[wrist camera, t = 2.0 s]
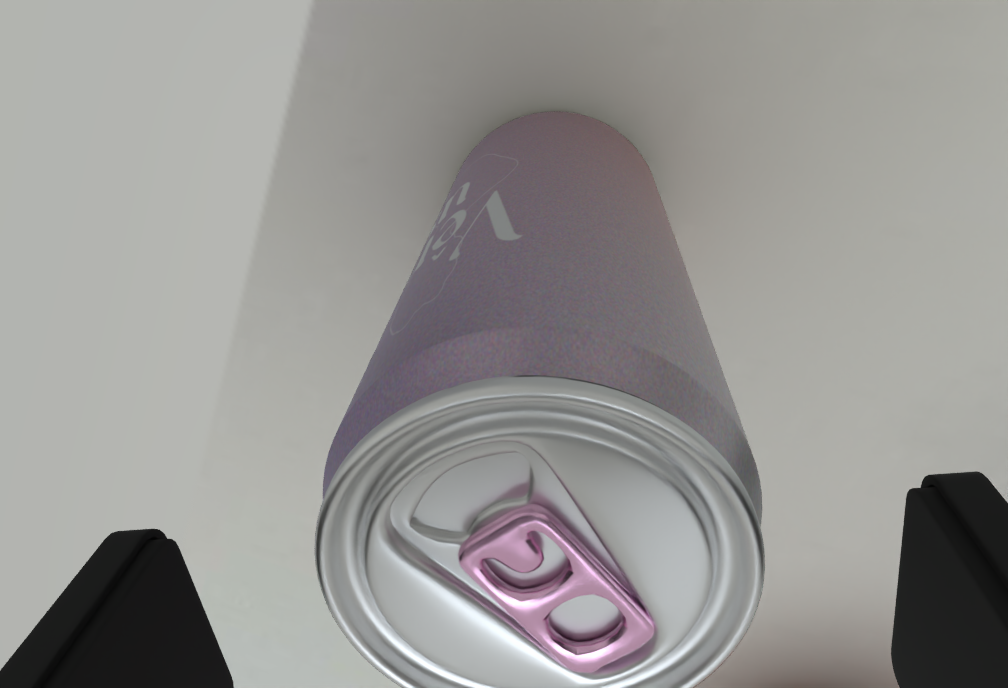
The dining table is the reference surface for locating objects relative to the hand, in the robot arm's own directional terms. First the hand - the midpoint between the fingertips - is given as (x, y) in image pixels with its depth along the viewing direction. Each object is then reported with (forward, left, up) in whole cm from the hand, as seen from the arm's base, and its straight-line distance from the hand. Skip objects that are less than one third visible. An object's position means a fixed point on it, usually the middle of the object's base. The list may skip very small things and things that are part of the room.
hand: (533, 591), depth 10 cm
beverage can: (0, 0, -15) cm, 15 cm away
